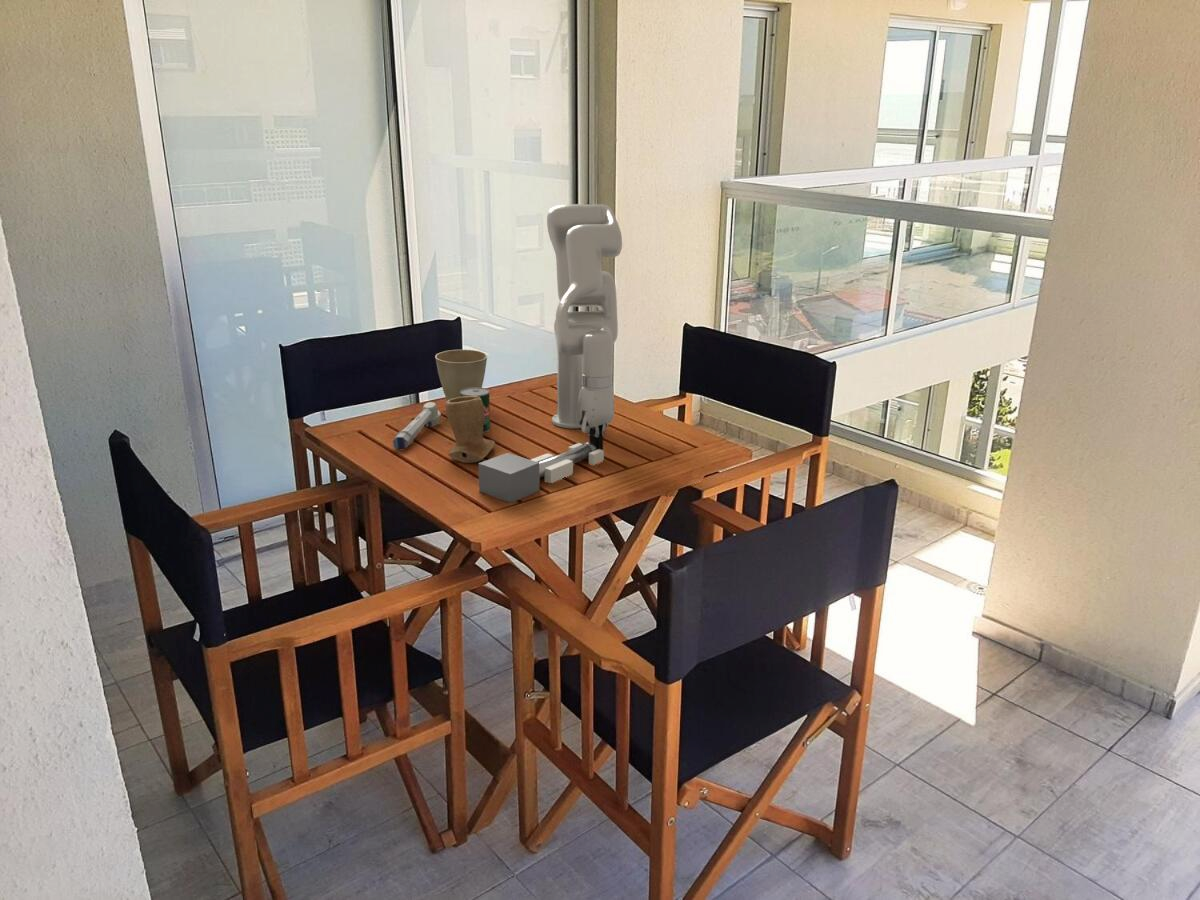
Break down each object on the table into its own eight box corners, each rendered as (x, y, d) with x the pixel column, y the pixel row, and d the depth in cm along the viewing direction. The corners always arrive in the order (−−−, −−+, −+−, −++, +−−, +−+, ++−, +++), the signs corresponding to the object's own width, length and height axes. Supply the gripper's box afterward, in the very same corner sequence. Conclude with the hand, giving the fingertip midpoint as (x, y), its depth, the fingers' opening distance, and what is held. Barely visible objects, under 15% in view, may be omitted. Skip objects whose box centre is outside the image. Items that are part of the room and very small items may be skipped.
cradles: (578, 453, 242) (578, 441, 241) (603, 461, 237) (603, 448, 236) (525, 475, 228) (525, 461, 227) (550, 483, 223) (550, 470, 222)
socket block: (508, 480, 225) (507, 452, 222) (539, 490, 219) (539, 462, 216) (479, 491, 218) (478, 463, 215) (510, 502, 212) (510, 474, 209)
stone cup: (456, 443, 249) (454, 388, 244) (499, 446, 247) (498, 391, 242) (436, 462, 235) (434, 405, 230) (482, 466, 233) (480, 409, 228)
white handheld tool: (389, 435, 242) (424, 396, 264) (392, 458, 245) (426, 417, 267) (408, 437, 241) (442, 397, 263) (411, 460, 244) (444, 419, 266)
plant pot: (428, 412, 273) (425, 358, 268) (452, 398, 286) (450, 347, 281) (474, 418, 268) (472, 364, 263) (496, 404, 282) (495, 352, 276)
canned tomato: (488, 434, 256) (487, 395, 252) (459, 433, 256) (458, 395, 252) (492, 425, 263) (491, 387, 259) (464, 424, 263) (462, 386, 259)
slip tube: (584, 454, 241) (584, 440, 240) (596, 458, 239) (596, 443, 237) (519, 481, 223) (519, 465, 222) (532, 485, 221) (531, 469, 220)
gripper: (604, 372, 242) (602, 439, 248) (566, 384, 231) (566, 454, 237) (627, 377, 238) (625, 445, 244) (590, 390, 227) (589, 461, 233)
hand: (596, 449), depth 241 cm, fingers closed
